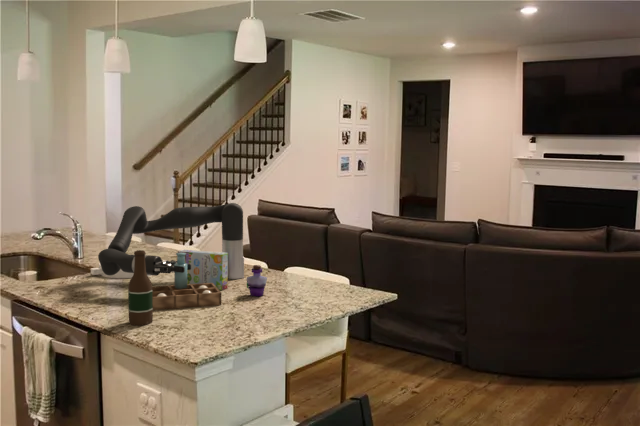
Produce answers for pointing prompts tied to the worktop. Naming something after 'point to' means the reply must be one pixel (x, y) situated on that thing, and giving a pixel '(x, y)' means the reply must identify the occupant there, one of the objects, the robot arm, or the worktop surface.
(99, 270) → the white circle with bar
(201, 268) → the snack box
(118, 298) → the worktop surface
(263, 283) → the potion bottle
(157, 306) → the crate
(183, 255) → the bud vase
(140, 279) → the beer bottle
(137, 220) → the robot arm
